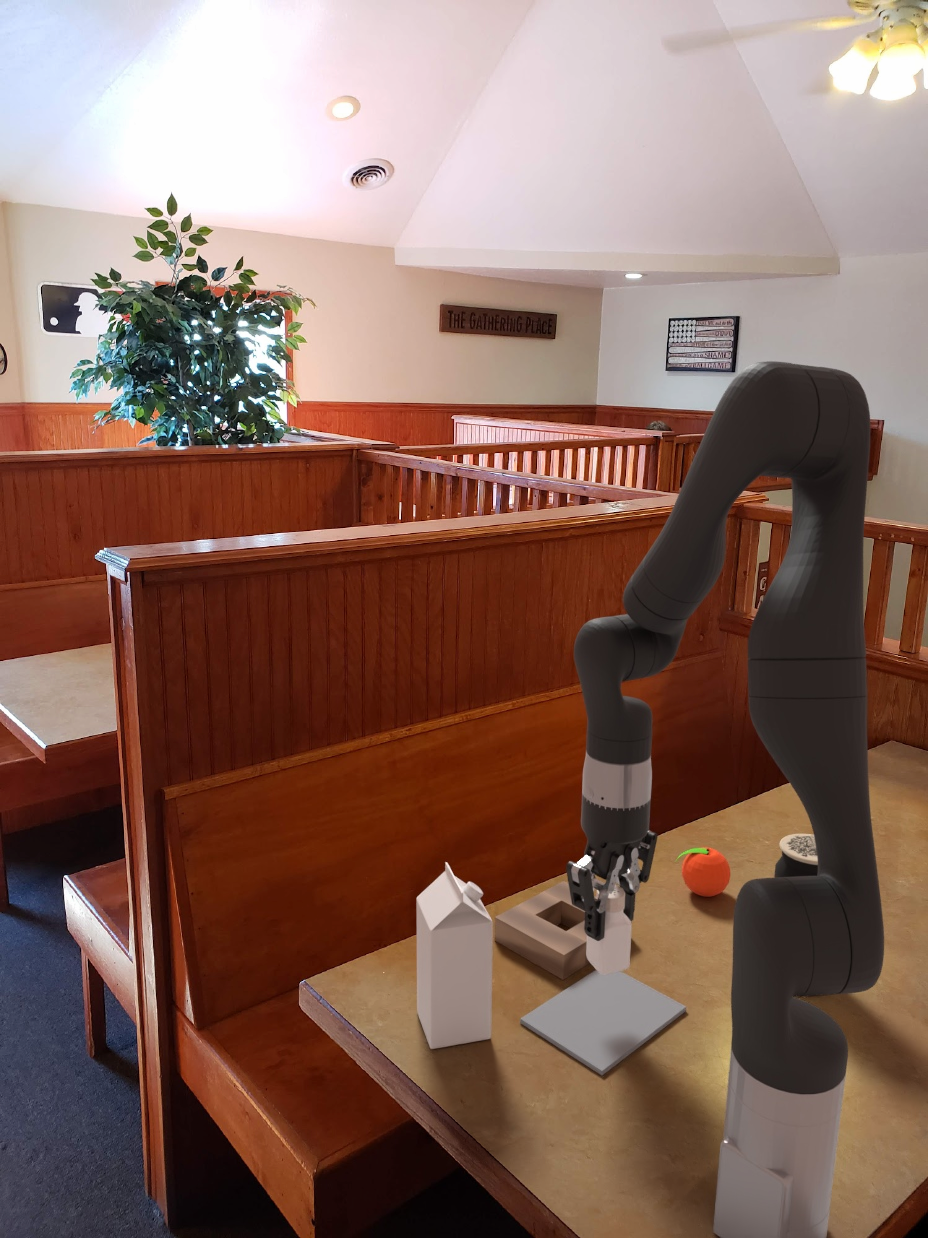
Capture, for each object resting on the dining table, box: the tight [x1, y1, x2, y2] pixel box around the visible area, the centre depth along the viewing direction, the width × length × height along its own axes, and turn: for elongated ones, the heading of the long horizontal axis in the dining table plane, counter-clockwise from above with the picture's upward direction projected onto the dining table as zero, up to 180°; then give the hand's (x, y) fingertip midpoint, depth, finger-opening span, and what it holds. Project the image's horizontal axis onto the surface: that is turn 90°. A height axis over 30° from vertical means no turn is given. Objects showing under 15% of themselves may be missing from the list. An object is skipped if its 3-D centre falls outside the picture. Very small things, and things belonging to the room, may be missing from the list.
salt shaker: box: [586, 884, 632, 975], centre depth 110 cm, size 4×4×10 cm
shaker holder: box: [494, 880, 633, 981], centre depth 128 cm, size 14×12×4 cm
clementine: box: [674, 846, 731, 898], centre depth 139 cm, size 8×7×7 cm
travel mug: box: [773, 833, 818, 878], centre depth 118 cm, size 8×8×18 cm
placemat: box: [519, 969, 687, 1076], centre depth 112 cm, size 16×12×1 cm
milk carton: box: [416, 861, 494, 1050], centre depth 108 cm, size 7×7×19 cm
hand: (609, 927), depth 110 cm, fingers closed on salt shaker, 4 cm apart
